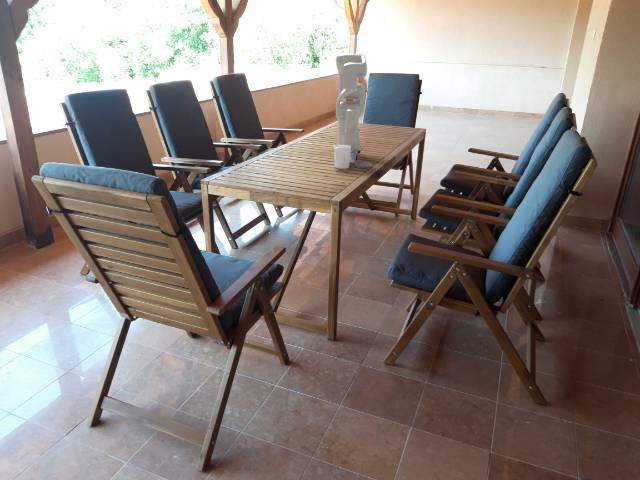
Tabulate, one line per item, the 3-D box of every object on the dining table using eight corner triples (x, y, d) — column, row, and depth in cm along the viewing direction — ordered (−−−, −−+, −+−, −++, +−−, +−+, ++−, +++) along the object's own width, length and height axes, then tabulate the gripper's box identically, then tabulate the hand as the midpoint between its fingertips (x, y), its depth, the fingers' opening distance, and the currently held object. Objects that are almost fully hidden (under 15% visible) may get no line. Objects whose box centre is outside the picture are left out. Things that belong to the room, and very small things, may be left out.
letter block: (345, 161, 289) (345, 153, 287) (353, 161, 290) (353, 152, 288) (347, 163, 284) (347, 154, 282) (355, 163, 285) (356, 154, 283)
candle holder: (336, 169, 270) (336, 148, 266) (331, 165, 279) (331, 145, 274) (352, 168, 273) (353, 147, 268) (347, 164, 281) (347, 144, 277)
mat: (353, 163, 284) (353, 162, 283) (367, 163, 285) (367, 162, 285) (357, 167, 275) (357, 166, 274) (372, 167, 276) (372, 166, 276)
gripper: (363, 129, 285) (362, 159, 292) (335, 130, 282) (335, 160, 289) (367, 131, 278) (365, 162, 285) (338, 132, 275) (338, 163, 282)
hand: (350, 161), depth 287 cm, fingers closed on letter block, 5 cm apart
